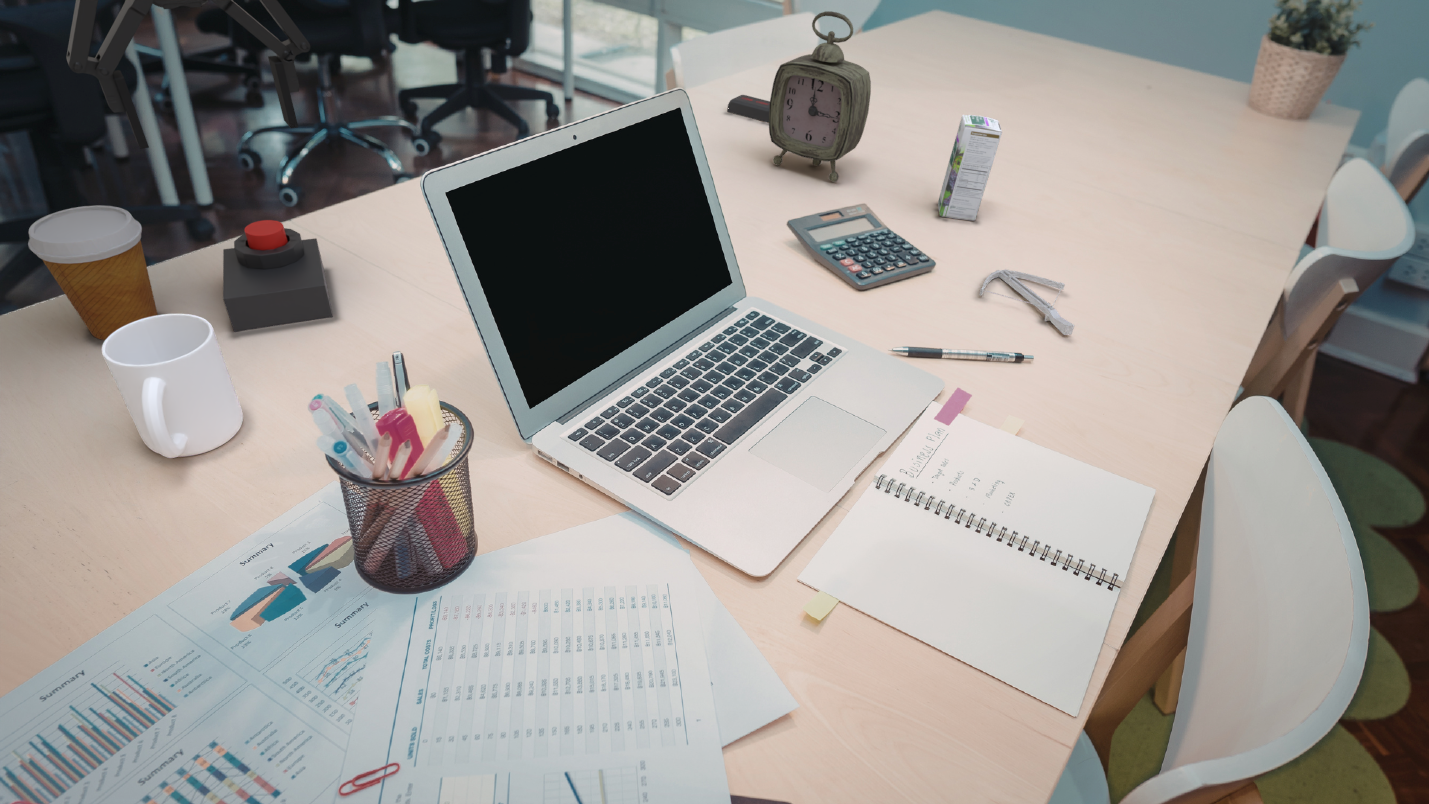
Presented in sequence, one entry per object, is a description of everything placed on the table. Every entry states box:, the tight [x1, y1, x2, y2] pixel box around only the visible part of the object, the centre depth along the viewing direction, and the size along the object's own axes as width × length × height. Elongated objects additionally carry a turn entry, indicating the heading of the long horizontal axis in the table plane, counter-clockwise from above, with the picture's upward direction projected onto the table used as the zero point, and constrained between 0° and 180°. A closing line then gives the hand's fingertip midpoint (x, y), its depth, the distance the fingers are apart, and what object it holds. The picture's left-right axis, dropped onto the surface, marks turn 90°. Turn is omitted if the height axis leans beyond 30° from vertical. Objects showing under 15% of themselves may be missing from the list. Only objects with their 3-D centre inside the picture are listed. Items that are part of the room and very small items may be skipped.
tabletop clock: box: [768, 10, 872, 183], centre depth 132 cm, size 14×9×25 cm, turn 58°
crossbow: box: [979, 268, 1075, 336], centre depth 107 cm, size 16×13×2 cm
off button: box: [244, 219, 288, 250], centre depth 93 cm, size 4×4×2 cm
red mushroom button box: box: [222, 227, 334, 333], centre depth 93 cm, size 12×10×6 cm
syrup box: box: [937, 114, 1003, 222], centre depth 125 cm, size 6×6×14 cm
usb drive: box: [726, 94, 770, 123], centre depth 159 cm, size 5×12×3 cm, turn 59°
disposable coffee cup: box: [27, 204, 159, 341], centre depth 85 cm, size 10×10×12 cm
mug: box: [101, 313, 244, 459], centre depth 71 cm, size 12×8×10 cm
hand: (220, 133), depth 83 cm, fingers open, 13 cm apart
